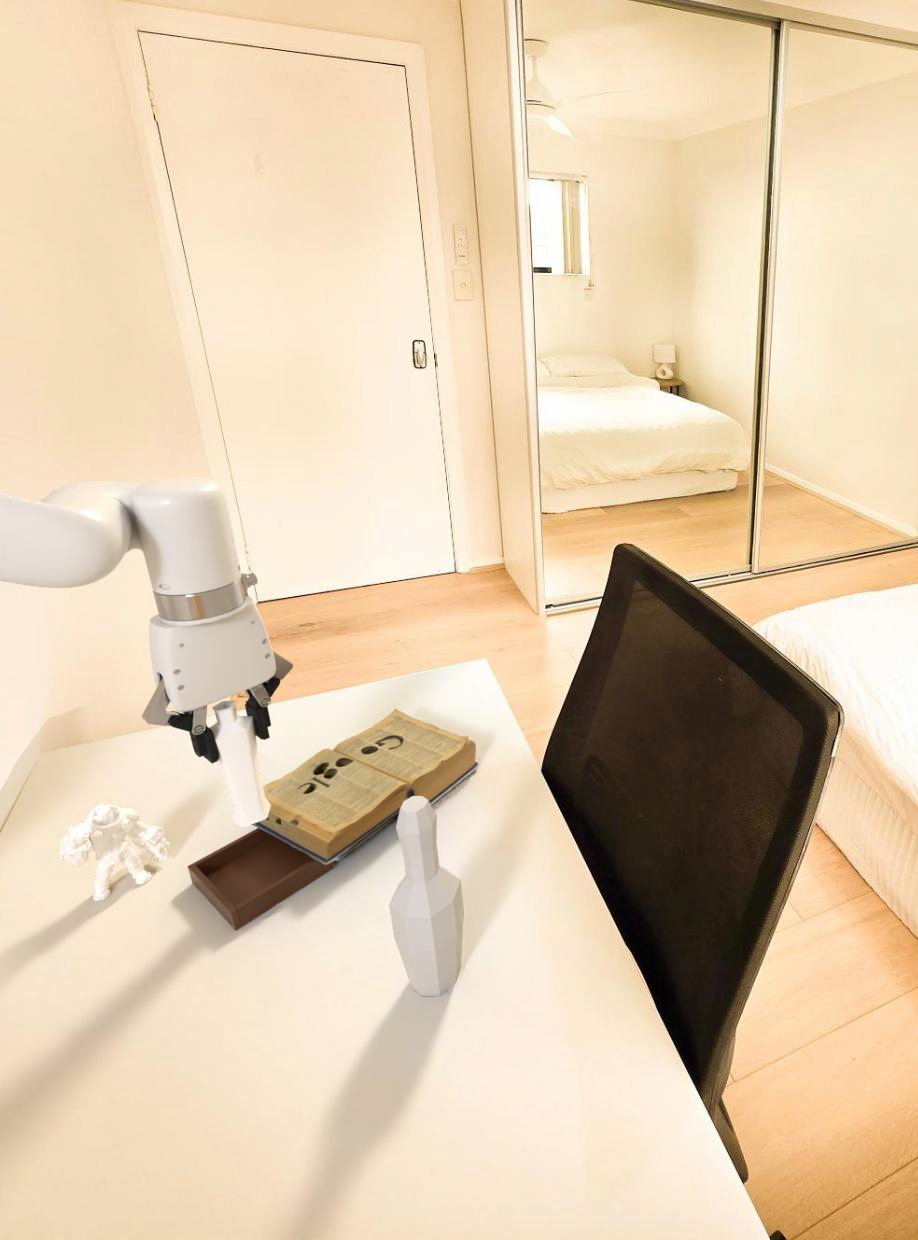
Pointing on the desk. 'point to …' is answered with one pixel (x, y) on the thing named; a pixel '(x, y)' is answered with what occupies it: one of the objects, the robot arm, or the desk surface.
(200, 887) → the tray
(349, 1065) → the desk surface
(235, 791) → the white faceted vase
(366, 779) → the book
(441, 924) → the low poly bottle
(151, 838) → the figurine
